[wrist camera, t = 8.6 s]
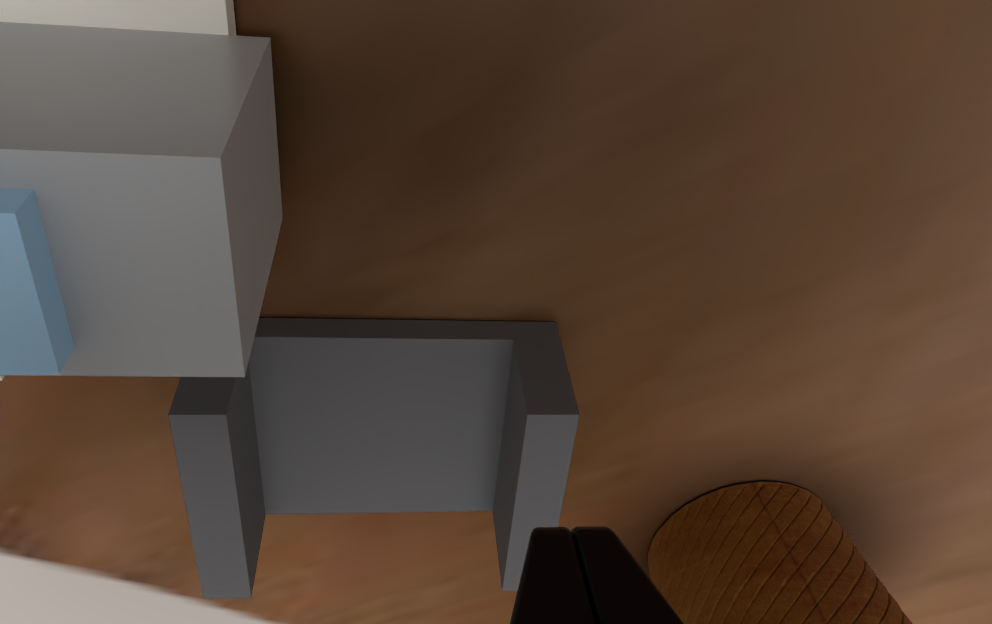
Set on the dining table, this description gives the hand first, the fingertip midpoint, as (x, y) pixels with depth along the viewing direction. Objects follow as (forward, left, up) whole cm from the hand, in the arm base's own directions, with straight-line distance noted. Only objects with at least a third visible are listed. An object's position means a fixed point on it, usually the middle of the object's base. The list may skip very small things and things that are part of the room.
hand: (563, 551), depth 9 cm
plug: (+7, 0, -11) cm, 13 cm away
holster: (+2, +9, -12) cm, 15 cm away
